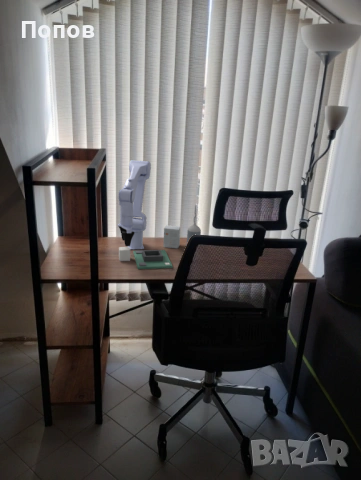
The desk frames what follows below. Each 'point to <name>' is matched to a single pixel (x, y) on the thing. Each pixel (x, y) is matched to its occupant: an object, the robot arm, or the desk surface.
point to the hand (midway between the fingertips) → (126, 243)
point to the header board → (152, 259)
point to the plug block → (124, 253)
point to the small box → (171, 236)
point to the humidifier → (193, 228)
